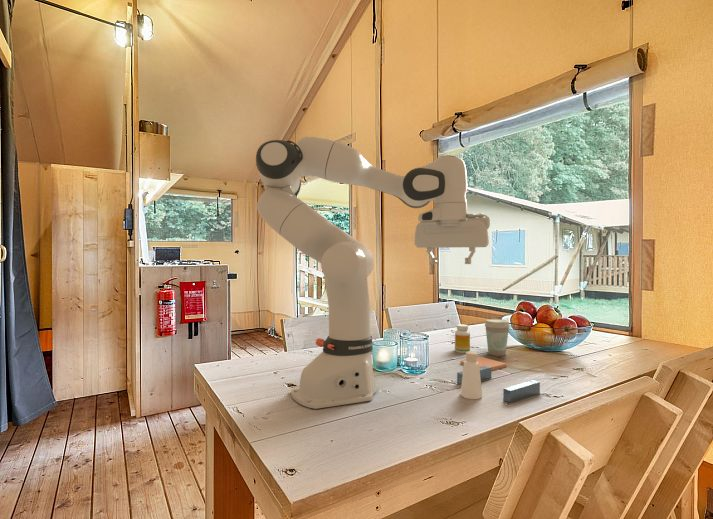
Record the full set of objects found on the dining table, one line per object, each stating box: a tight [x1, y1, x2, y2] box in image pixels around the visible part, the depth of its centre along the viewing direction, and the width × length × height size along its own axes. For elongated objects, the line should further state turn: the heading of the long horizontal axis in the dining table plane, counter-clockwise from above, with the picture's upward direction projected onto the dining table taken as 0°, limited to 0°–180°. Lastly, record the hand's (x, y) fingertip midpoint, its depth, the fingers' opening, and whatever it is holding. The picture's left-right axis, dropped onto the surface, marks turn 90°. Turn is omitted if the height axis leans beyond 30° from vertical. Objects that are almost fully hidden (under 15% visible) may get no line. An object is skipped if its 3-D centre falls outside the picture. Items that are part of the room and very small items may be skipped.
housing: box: [456, 366, 541, 404], centre depth 103 cm, size 12×17×3 cm
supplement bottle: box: [454, 323, 471, 354], centre depth 142 cm, size 5×5×10 cm
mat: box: [459, 356, 507, 372], centre depth 124 cm, size 10×10×1 cm
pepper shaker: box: [460, 351, 483, 400], centre depth 98 cm, size 5×5×11 cm
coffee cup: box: [484, 318, 511, 357], centre depth 139 cm, size 8×8×12 cm
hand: (450, 263), depth 109 cm, fingers open, 8 cm apart
